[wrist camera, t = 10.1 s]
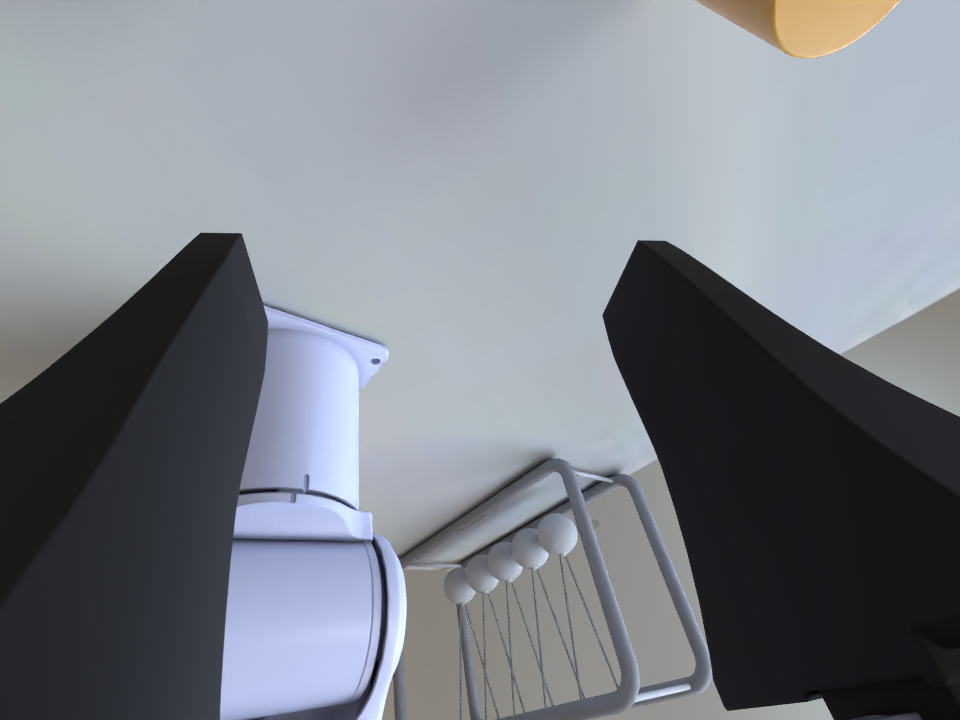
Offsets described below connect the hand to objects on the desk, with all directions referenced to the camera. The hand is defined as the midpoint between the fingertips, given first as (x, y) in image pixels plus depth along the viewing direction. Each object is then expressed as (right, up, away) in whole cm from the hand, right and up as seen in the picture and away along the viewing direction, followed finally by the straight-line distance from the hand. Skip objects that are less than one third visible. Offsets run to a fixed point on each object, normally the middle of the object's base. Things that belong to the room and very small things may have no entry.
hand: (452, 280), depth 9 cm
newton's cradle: (+2, -19, +41) cm, 45 cm away
